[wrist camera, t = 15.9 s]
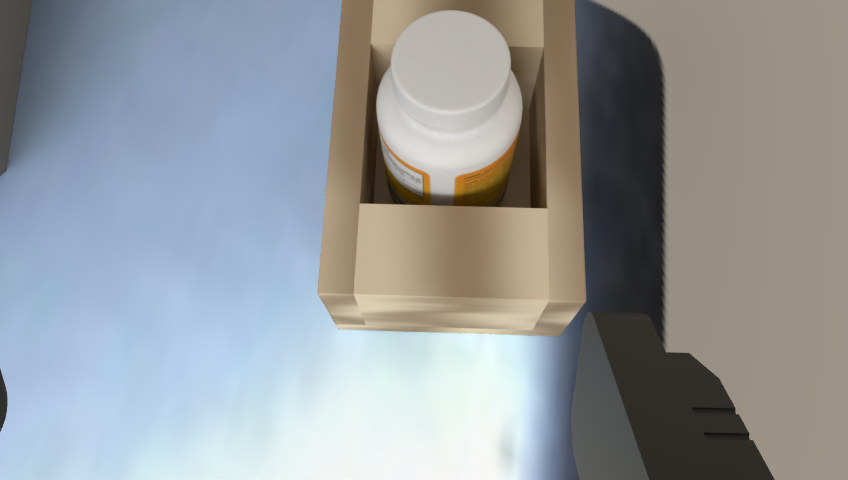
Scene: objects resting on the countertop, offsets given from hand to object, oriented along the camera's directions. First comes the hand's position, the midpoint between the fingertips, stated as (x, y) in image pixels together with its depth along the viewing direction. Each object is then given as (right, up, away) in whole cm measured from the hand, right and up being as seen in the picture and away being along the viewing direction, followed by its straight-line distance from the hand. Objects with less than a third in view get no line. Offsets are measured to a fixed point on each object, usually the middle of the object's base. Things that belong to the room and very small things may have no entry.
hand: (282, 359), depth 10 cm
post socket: (+3, +4, +24) cm, 25 cm away
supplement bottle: (+3, +4, +24) cm, 24 cm away
